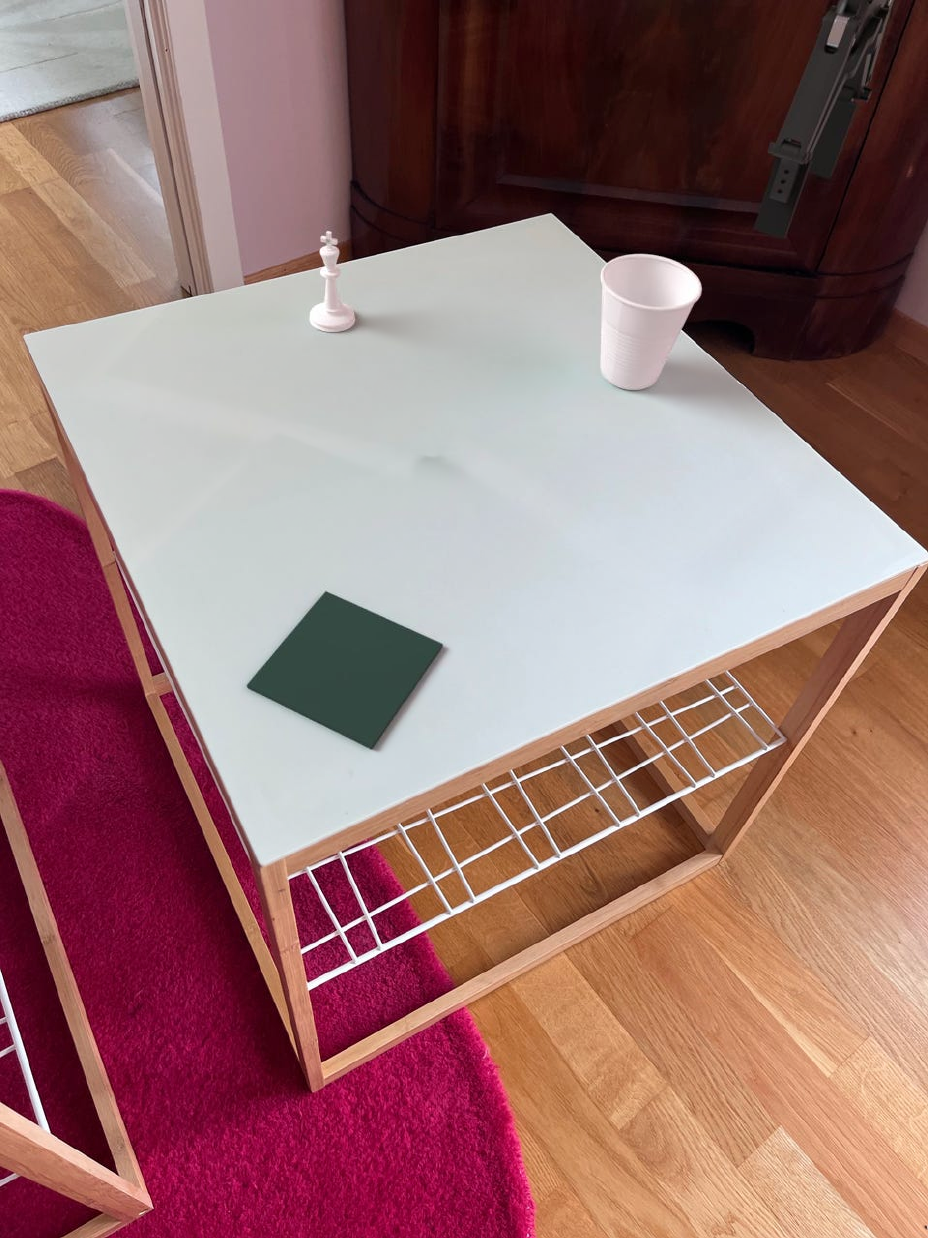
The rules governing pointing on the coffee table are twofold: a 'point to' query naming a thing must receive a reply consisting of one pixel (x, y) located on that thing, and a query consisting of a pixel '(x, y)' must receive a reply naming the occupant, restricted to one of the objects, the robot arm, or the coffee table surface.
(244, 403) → the coffee table surface
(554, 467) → the coffee table surface
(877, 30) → the robot arm
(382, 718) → the mat
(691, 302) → the cup
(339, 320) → the chess piece
